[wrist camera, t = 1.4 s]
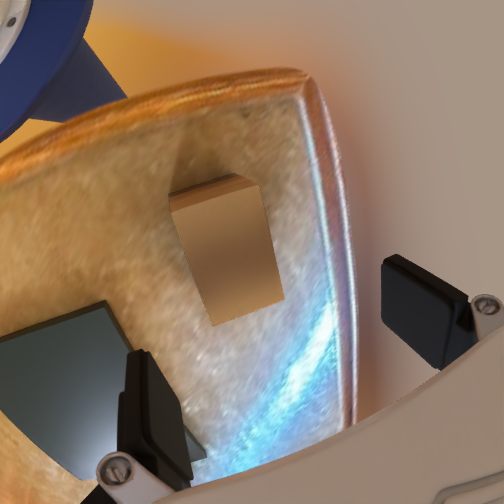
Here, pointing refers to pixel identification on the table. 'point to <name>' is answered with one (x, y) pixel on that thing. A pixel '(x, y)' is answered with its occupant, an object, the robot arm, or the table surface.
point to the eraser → (227, 246)
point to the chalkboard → (69, 387)
